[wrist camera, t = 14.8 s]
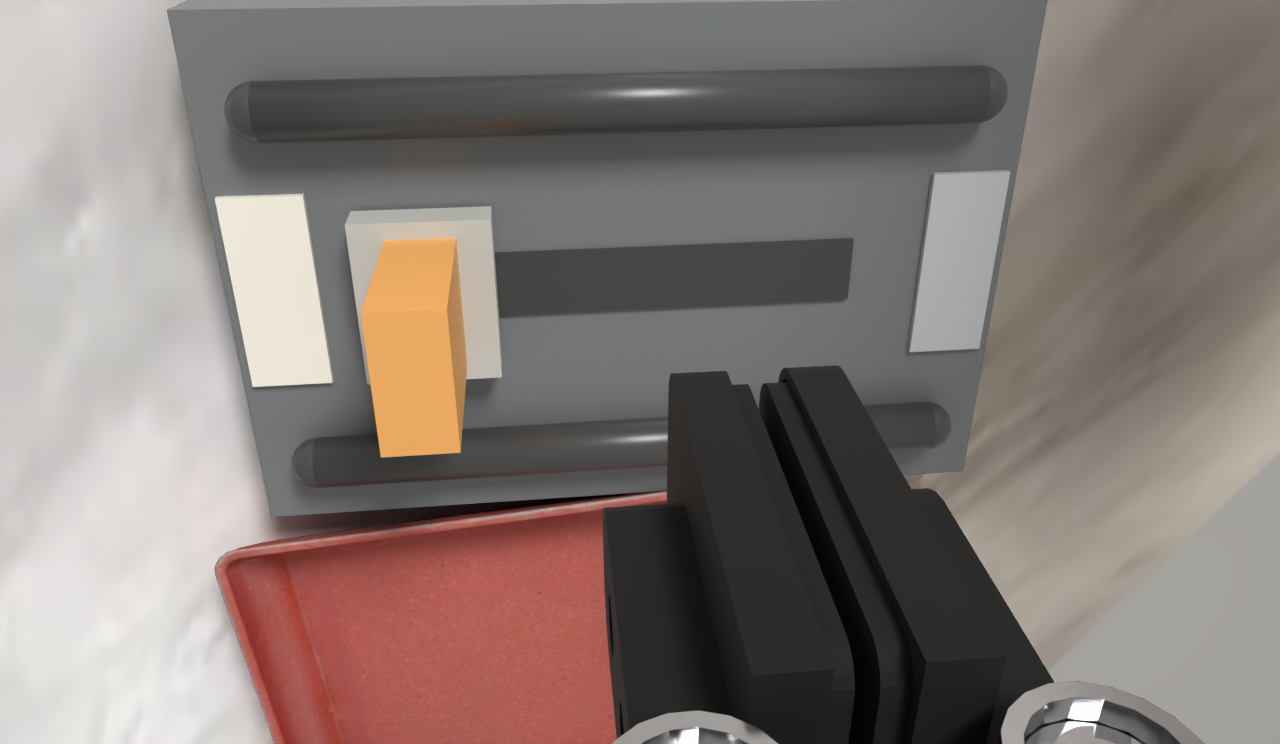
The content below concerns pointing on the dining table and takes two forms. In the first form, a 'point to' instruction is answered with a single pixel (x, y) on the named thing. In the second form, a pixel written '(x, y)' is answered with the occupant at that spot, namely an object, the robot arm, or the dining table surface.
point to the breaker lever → (424, 319)
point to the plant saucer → (433, 628)
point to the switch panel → (610, 216)
